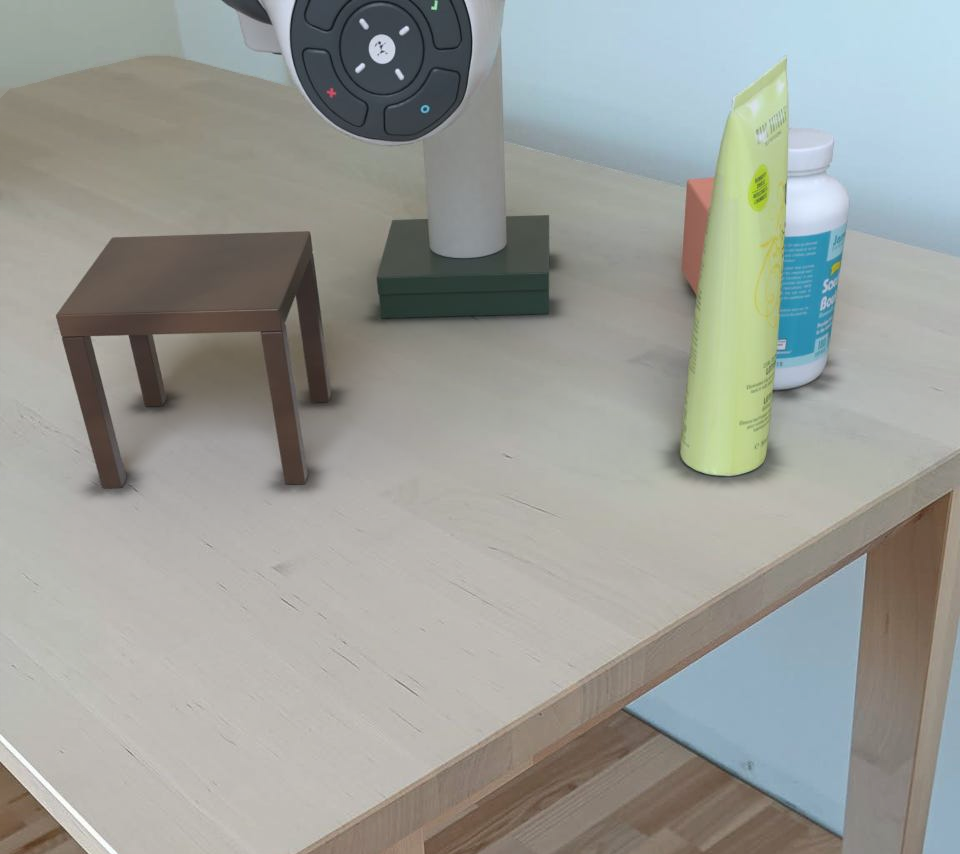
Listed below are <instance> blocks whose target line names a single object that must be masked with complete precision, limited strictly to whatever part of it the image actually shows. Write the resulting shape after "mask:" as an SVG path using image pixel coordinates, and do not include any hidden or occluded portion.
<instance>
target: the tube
mask: <svg viewBox="0 0 960 854" xmlns="http://www.w3.org/2000/svg"><path fill="white" fill-rule="evenodd" d="M787 67H788V55H787V54H785V55H783V57H781V59H779V60H778V61H777V62H776V63H775V64H773V65H772V66H771V67H769V69H768V70H766V71H765V72H764V73H762V74H761V75H760V76H758V77H757V78H756V79H755V80H754V81H753V82H751V83H750V84H749V85H747V86H746V87H745V88H744V89H742V90H740V91H739V92H738V93H736V94H735V95H733V97H732V99H731V108H730V111H729V113H728V116H727V118H726V121H725V125H724V129H723V134H722V137H721V141H720V145H719V151H718V156H717V161H716V166H715V172H714V177H715V178H714V184H713V190H712V196H711V203H710V209H709V214H708V220H707V227H706V234H705V241H704V247H703V254H702V261H701V269H700V276H699V284H698V291H697V296H696V300H695V301H696V302H695V306H694V315H693V323H692V333H691V339H690V340H691V341H690V349H689V357H688V358H689V359H688V367H687V376H686V387H685V397H684V408H683V417H682V426H681V437H680V451H679V453H680V458H681V460H682V461H683V462H684V463H685V464H686V466H688V467H690V468H691V469H693V470H695V471H697V472H699V473H701V474H702V473H703V474H706V475H711V476H720V477H722V476H723V477H733V476H739V475H742V474H745V473H749V472H751V471H754V470H755V469H757V468H759V467H760V466H761V465H762V464H763V463H764V462H765V460H766V456H767V451H768V444H769V435H770V434H769V433H770V424H771V415H772V406H773V395H774V390H773V386H774V376H775V365H776V354H777V342H778V331H779V317H780V304H781V290H782V275H783V259H784V244H785V225H786V197H787V168H788V128H789V123H790V121H789V120H790V119H789V117H790V116H789V114H790V113H789V111H790V110H789V84H788V69H787Z"/></svg>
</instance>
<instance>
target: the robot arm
mask: <svg viewBox="0 0 960 854" xmlns="http://www.w3.org/2000/svg"><path fill="white" fill-rule="evenodd" d="M221 1H222V3H224V4H225V5H227V6H228V7H229V8H231V9H233V10H235V12H236V13H237V19H238V22H239V26H240V29H241V34H242V38H243V41H244V44H245V46H246V48H247V49H249V50H251V51H253V52H258V53H268V54H269V53H270V54H273V55H281V56H282V59H283V62H284V64H285V67H286V69H287V72H288V74H289V76H290V78H291V80H292V81H293V83H294V85H295V87H296V88H297V90H298V91H299V93H300V94H301V95H302V97H303V98H304V100H305V101H306V103H307V104H308V106H309V107H310V108H311V109H312V110H313V112H314V113H315V114H316V115H318V116H319V117H320V118H321V119H322V120H323V121H324V122H325V123H326V124H327V125H329V126H330V127H332V128H333V129H334V130H336V131H337V132H339V133H340V134H342V135H344V136H346V137H348V138H351V139H353V140H355V141H358V142H361V143H364V144H368V145H372V146H379V147H388V148H392V147H404V146H409V145H414V144H416V143H419V142H423V140H425V139H427V138H430V137H433V136H434V135H436V134H438V133H440V132H442V131H443V130H445V129H446V128H447V127H449V126H450V125H452V124H453V123H454V122H455V121H456V120H457V119H458V118H459V117H460V116H461V115H462V114H463V113H464V111H465V110H466V109H467V108H468V106H469V105H470V104H471V102H472V101H473V100H474V98H475V96H476V95H477V93H478V92H479V90H480V89H481V87H482V85H483V83H484V81H485V79H486V77H487V76H488V73H489V71H490V69H491V66H492V64H493V62H494V59H495V55H496V52H497V49H498V45H499V41H500V36H501V37H502V30H503V24H504V23H503V22H504V11H505V6H506V5H505V4H506V0H221Z"/></svg>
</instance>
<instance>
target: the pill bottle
mask: <svg viewBox="0 0 960 854" xmlns="http://www.w3.org/2000/svg"><path fill="white" fill-rule="evenodd" d="M834 145H835V138H834V136H833V135H832V134H830V133H828V132H825V131H822V130H818V129H813V128H805V127H788V168H787V197H786V225H785V244H784V259H783V275H782V290H781V304H780V317H779V331H778V342H777V354H776V365H775V376H774V386H773V391H779V390H780V391H781V390H788V389H795V388H798V387H802V386H805V385H807V384H810V383H811V382H813V381H815V380H816V379H817V378H818V377H819V376H820V375H821V374H822V373H823V372H824V370H825V368H826V366H827V365H826V364H827V362H828V355H829V349H830V344H831V343H830V342H831V337H832V328H833V321H834V314H835V308H836V301H837V294H838V288H839V287H838V286H839V281H840V273H841V269H842V267H841V266H842V260H843V253H844V247H845V239H846V234H847V227H848V222H849V214H850V198H849V194H848V191H847V189H846V188H845V186H844V184H842V182H841V181H840V180H838V179H837V178H835V177H834V176H832V175H830V174H828V173H827V170H828V169H829V168H830V166H831V163H832V162H833V156H834V148H835V147H834Z"/></svg>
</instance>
